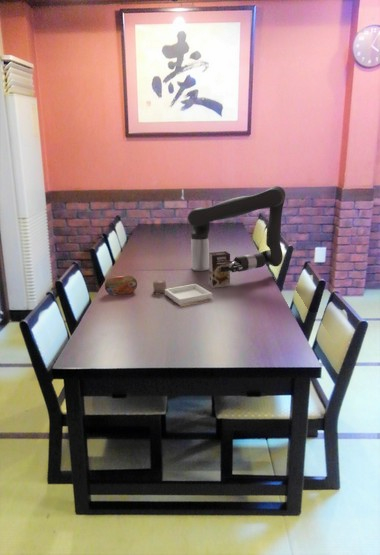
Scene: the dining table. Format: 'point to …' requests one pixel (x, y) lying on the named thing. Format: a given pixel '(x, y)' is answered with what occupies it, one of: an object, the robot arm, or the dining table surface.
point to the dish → (188, 294)
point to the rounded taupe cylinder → (159, 286)
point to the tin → (120, 285)
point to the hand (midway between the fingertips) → (216, 267)
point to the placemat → (195, 302)
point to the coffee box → (219, 269)
